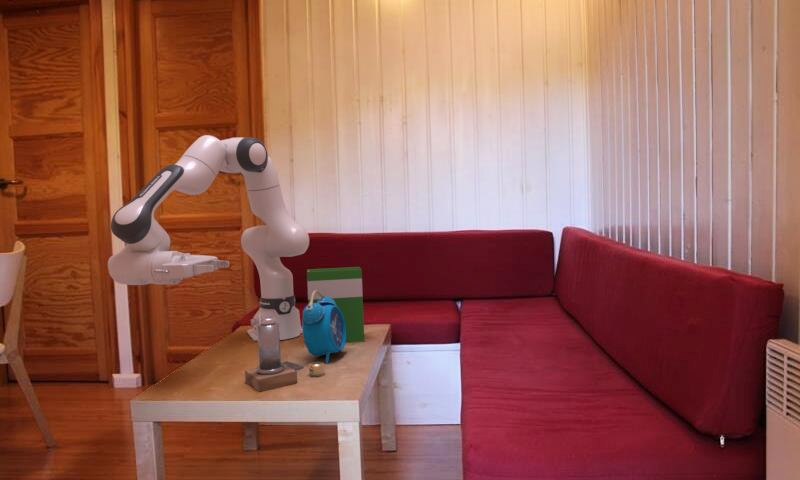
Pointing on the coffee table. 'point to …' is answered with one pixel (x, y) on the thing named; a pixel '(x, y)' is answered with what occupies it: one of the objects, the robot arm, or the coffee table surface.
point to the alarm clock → (323, 327)
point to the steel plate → (293, 365)
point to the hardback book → (341, 296)
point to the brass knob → (316, 369)
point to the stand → (270, 379)
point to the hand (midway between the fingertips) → (221, 266)
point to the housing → (269, 347)
